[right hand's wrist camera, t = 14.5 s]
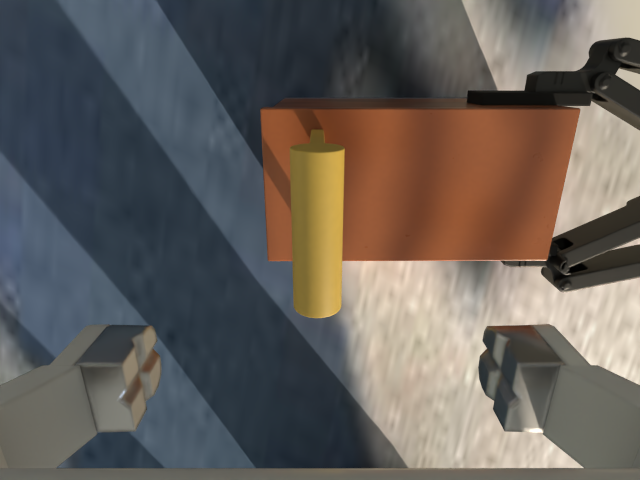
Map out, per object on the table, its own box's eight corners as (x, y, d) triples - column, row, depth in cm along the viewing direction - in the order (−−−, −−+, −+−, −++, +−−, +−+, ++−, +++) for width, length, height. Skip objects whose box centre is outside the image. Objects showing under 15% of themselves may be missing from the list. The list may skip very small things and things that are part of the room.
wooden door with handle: (269, 254, 27) (247, 336, 19) (262, 106, 24) (231, 125, 15) (538, 253, 27) (639, 336, 19) (569, 106, 24) (710, 125, 15)
